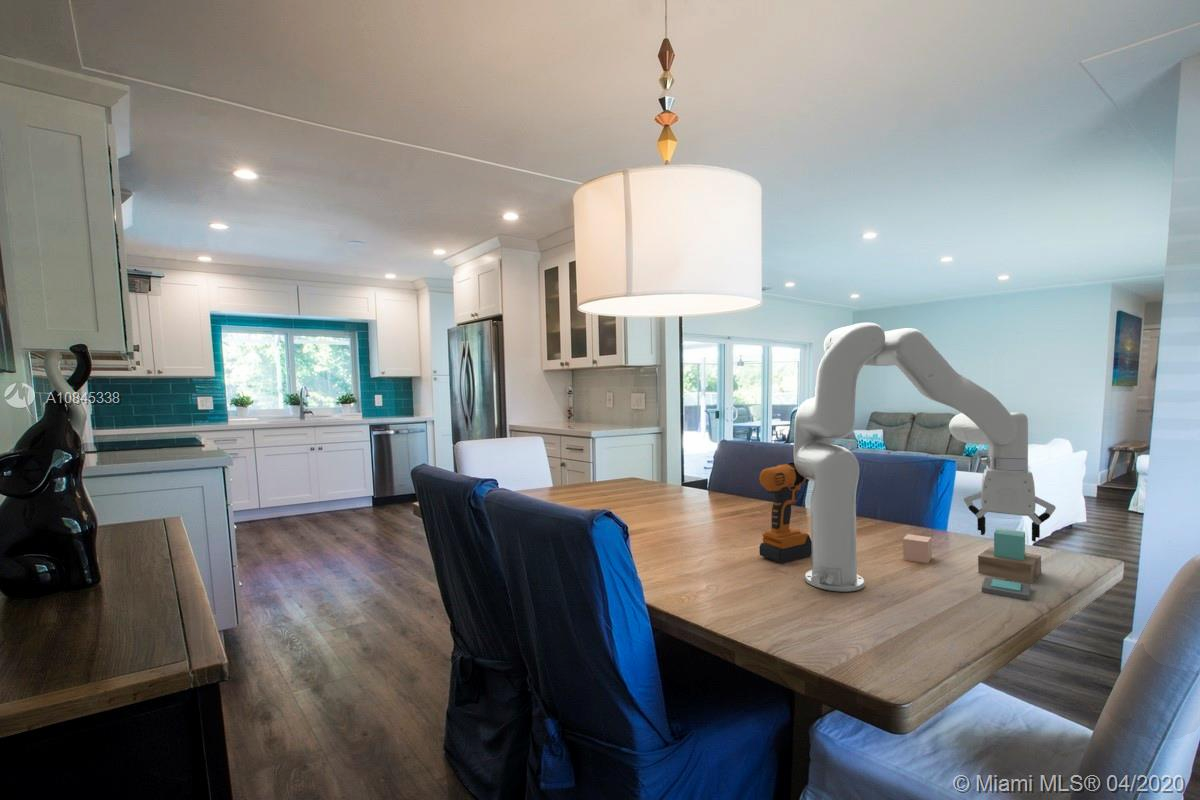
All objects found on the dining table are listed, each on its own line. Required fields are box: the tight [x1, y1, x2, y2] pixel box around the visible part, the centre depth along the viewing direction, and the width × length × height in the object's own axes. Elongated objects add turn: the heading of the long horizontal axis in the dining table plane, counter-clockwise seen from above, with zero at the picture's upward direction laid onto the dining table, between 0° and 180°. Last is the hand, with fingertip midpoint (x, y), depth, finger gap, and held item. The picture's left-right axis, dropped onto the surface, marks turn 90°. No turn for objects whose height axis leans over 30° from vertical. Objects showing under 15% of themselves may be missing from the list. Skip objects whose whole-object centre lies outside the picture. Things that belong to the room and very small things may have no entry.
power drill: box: [758, 461, 812, 564], centre depth 146 cm, size 22×7×25 cm, turn 122°
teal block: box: [993, 527, 1026, 561], centre depth 129 cm, size 6×6×6 cm
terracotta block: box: [902, 533, 933, 564], centre depth 141 cm, size 6×6×6 cm
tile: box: [981, 576, 1031, 601], centre depth 118 cm, size 8×8×1 cm
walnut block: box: [977, 546, 1042, 584], centre depth 129 cm, size 10×10×4 cm
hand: (1007, 537), depth 129 cm, fingers open, 9 cm apart
